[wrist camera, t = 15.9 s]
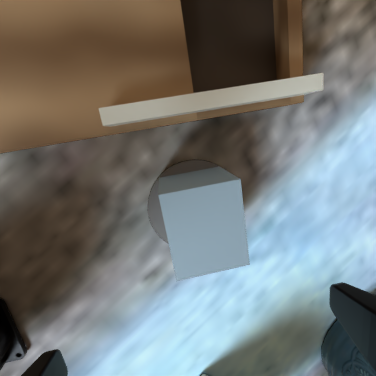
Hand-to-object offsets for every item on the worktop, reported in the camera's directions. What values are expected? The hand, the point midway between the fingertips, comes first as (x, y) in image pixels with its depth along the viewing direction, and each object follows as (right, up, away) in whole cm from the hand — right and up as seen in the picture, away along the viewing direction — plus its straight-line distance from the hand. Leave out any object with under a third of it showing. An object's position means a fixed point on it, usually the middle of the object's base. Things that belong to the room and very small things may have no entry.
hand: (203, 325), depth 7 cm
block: (0, +3, +11) cm, 12 cm away
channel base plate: (-5, +14, +9) cm, 17 cm away
